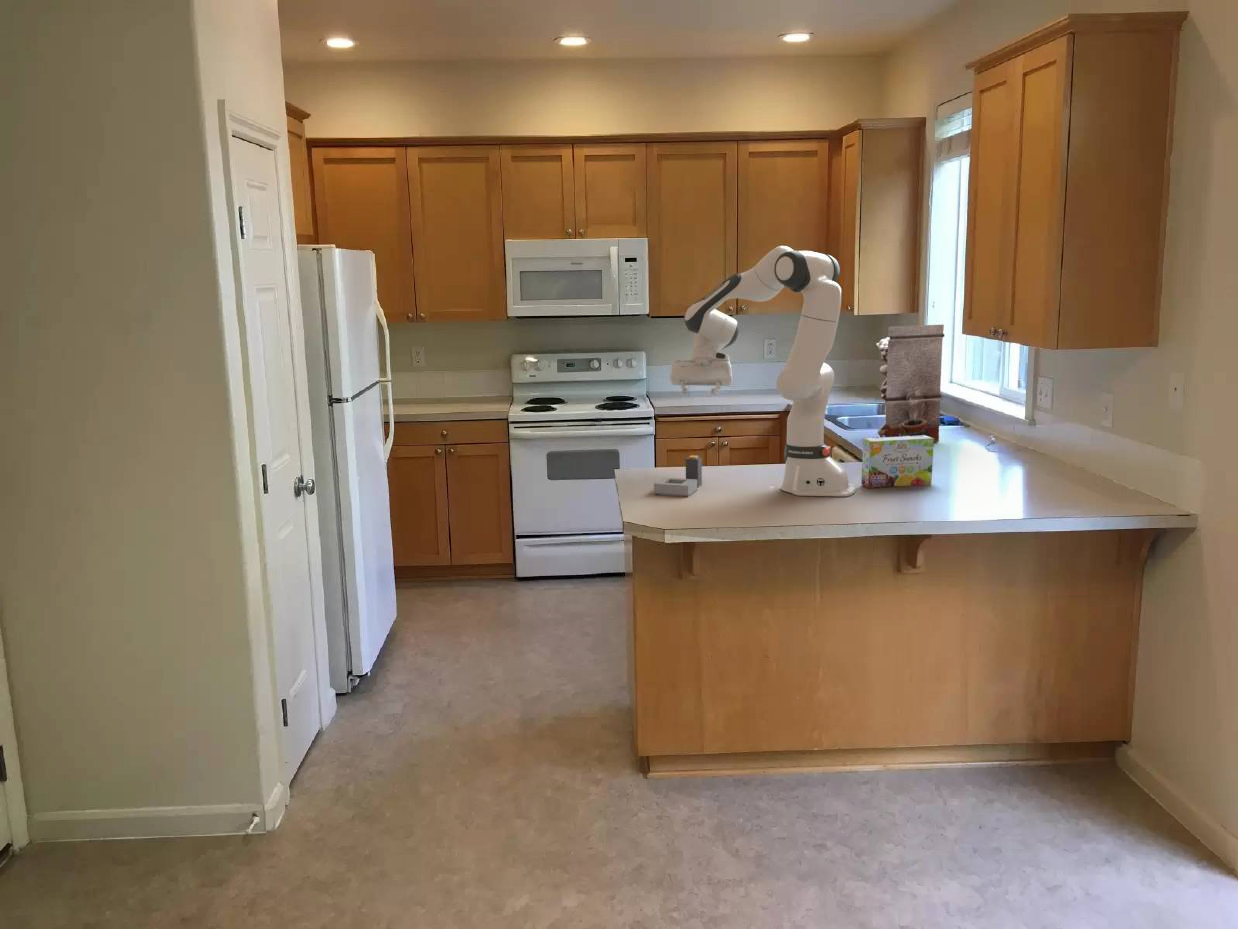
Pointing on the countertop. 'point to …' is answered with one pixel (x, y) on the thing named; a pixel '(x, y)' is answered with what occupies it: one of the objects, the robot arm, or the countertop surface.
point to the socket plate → (675, 486)
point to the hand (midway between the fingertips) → (699, 394)
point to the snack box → (897, 461)
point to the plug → (694, 469)
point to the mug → (909, 428)
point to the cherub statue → (912, 376)
